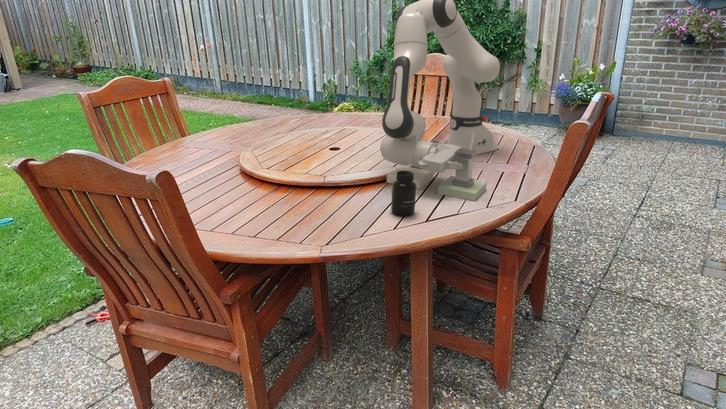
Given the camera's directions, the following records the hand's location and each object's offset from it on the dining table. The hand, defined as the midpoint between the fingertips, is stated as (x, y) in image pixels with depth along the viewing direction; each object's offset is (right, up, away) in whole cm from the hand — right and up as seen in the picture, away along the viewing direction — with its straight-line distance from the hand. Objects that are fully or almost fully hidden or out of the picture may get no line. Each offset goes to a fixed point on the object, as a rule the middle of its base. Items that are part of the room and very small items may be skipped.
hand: (467, 162), depth 154 cm
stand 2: (-1, -9, +4) cm, 10 cm away
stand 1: (-17, -5, +14) cm, 22 cm away
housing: (-1, -7, +3) cm, 8 cm away
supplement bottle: (-21, -16, -12) cm, 29 cm away
